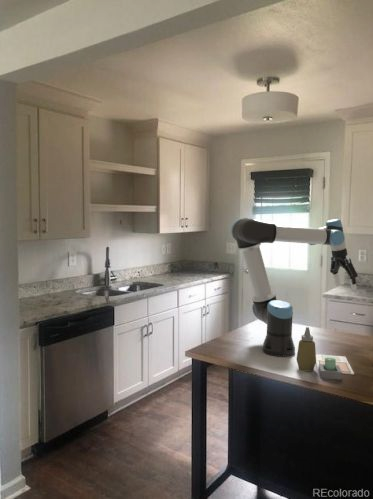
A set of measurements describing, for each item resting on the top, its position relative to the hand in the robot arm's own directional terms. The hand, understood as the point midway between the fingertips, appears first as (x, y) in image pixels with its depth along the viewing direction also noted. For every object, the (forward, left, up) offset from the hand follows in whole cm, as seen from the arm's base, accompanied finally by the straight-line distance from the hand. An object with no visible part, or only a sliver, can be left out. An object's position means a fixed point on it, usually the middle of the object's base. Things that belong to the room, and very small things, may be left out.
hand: (346, 287), depth 222 cm
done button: (-14, -56, -26) cm, 63 cm away
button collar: (-14, -56, -27) cm, 64 cm away
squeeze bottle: (-23, -52, -27) cm, 63 cm away
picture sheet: (-11, -43, -27) cm, 52 cm away
